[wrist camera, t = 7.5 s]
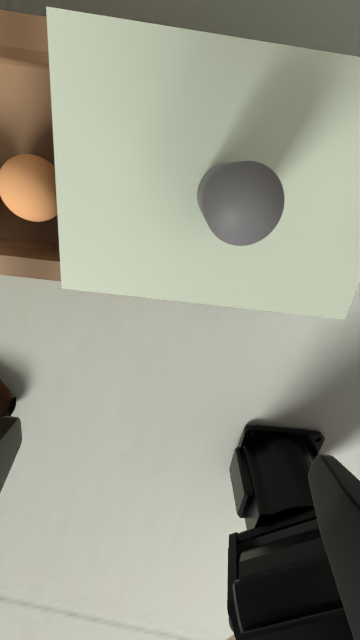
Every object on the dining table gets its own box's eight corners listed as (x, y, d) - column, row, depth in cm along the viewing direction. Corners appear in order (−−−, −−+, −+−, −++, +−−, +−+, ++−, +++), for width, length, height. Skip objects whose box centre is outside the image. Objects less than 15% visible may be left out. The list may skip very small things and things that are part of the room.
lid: (432, 74, 11) (574, 23, 7) (339, 314, 16) (394, 366, 12) (52, 14, 11) (-27, -82, 7) (65, 284, 15) (23, 327, 11)
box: (202, 70, 14) (209, 42, 11) (177, 272, 19) (177, 294, 16) (-107, 22, 14) (-195, -22, 10) (-58, 245, 18) (-108, 262, 15)
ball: (73, 159, 16) (51, 157, 13) (75, 220, 17) (55, 230, 14) (13, 151, 15) (-22, 148, 13) (19, 213, 17) (-11, 222, 14)
